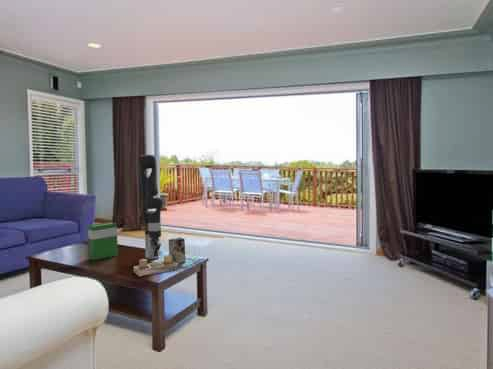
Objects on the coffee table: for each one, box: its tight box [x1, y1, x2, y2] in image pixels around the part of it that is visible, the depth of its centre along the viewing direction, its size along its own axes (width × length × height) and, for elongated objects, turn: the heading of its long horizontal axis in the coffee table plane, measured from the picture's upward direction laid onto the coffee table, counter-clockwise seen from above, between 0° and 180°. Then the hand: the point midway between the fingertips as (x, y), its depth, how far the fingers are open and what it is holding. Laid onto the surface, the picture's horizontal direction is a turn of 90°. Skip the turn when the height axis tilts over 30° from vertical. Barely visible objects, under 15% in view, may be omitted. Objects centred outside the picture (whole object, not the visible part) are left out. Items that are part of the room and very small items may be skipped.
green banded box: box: [87, 221, 119, 261], centre depth 266 cm, size 18×7×24 cm, turn 137°
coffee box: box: [168, 237, 186, 264], centre depth 250 cm, size 9×6×16 cm
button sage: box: [151, 260, 161, 267], centre depth 234 cm, size 5×5×5 cm
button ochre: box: [163, 254, 172, 264], centre depth 238 cm, size 5×5×5 cm
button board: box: [132, 260, 179, 277], centre depth 234 cm, size 11×25×4 cm, turn 124°
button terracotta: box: [138, 258, 148, 269], centre depth 229 cm, size 5×5×5 cm
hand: (155, 256), depth 233 cm, fingers closed
